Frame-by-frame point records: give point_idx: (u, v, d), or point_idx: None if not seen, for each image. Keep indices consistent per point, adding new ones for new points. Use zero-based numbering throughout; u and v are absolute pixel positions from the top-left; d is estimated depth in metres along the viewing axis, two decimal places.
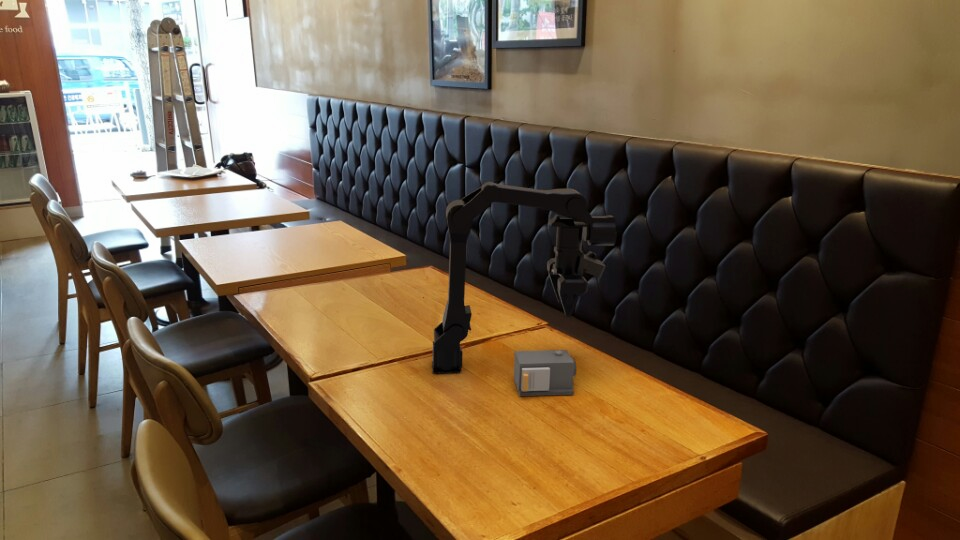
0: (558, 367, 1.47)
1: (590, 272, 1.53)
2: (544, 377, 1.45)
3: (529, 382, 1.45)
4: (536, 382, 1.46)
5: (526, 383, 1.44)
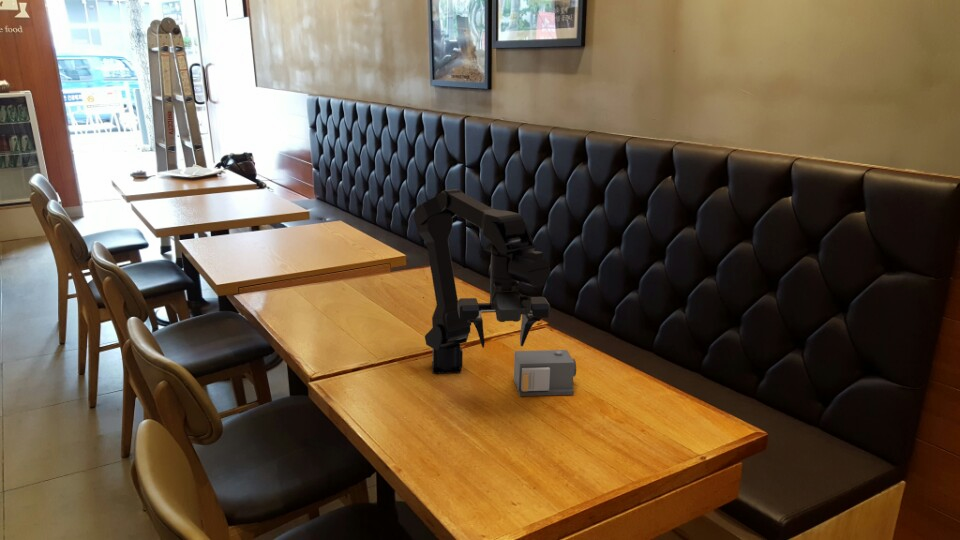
0: (558, 367, 1.47)
1: (495, 310, 1.34)
2: (544, 377, 1.45)
3: (529, 382, 1.45)
4: (536, 382, 1.46)
5: (526, 383, 1.44)
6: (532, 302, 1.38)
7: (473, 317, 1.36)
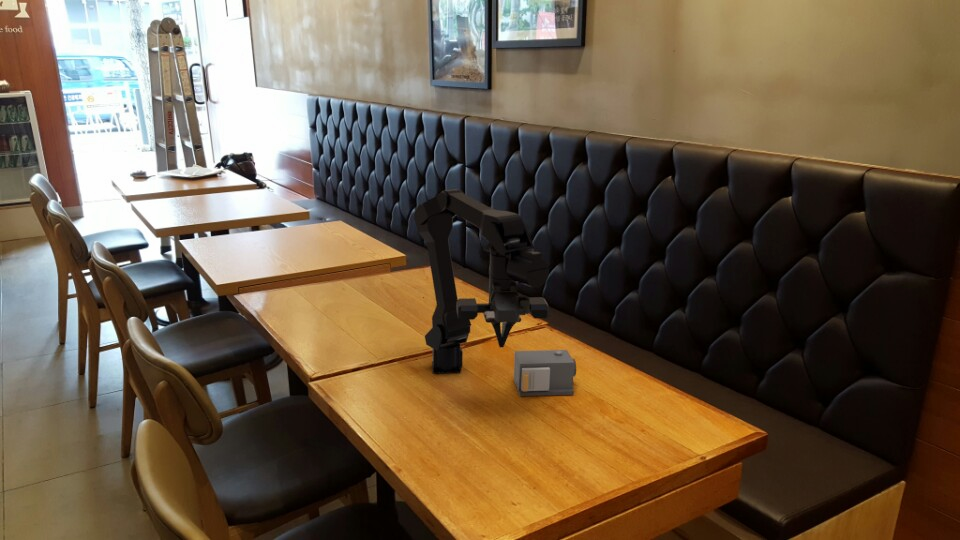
0: (558, 367, 1.47)
1: (494, 310, 1.34)
2: (544, 377, 1.45)
3: (529, 382, 1.45)
4: (536, 382, 1.46)
5: (526, 383, 1.44)
6: (531, 303, 1.38)
7: (472, 317, 1.36)
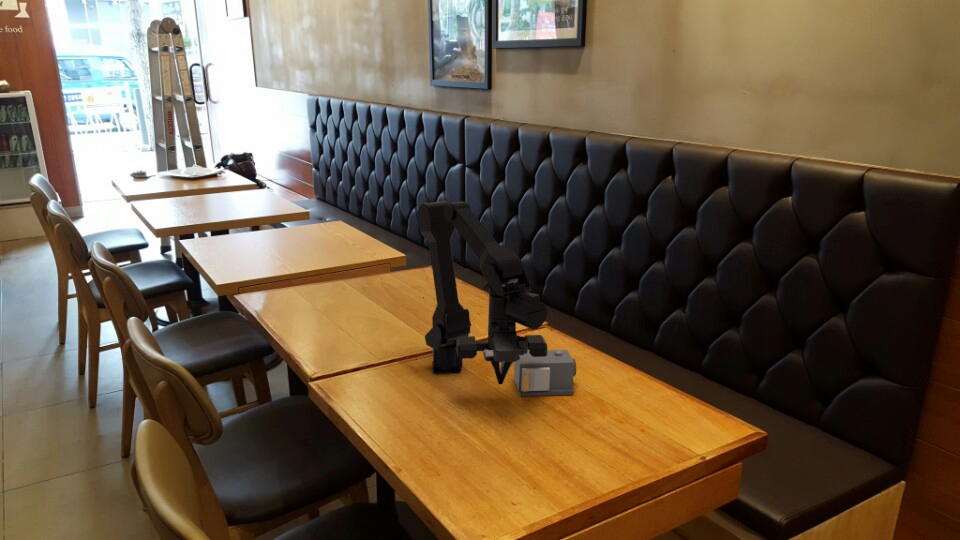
0: (558, 367, 1.47)
1: (492, 350, 1.36)
2: (544, 377, 1.45)
3: (529, 382, 1.45)
4: (536, 382, 1.46)
5: (526, 383, 1.44)
6: (529, 341, 1.40)
7: (471, 356, 1.38)
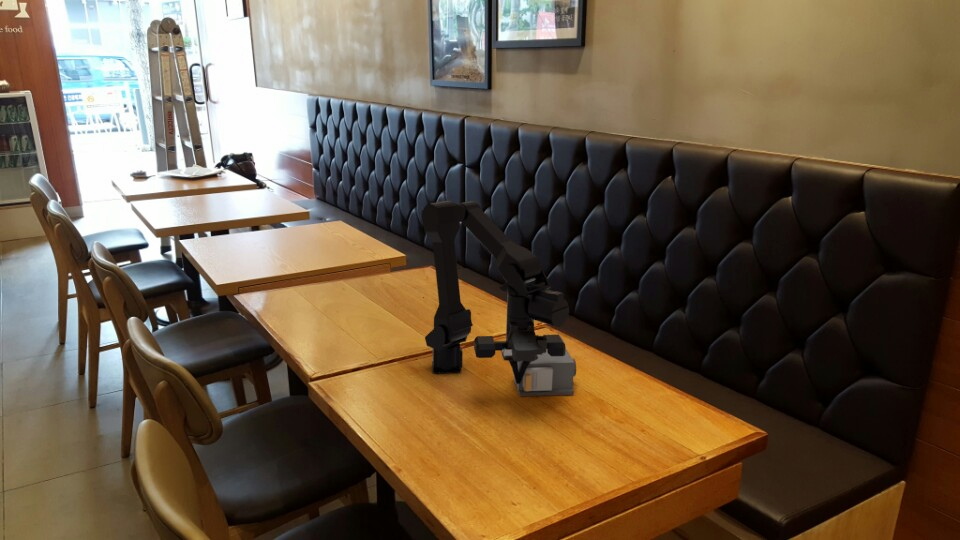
0: (558, 367, 1.47)
1: (511, 349, 1.36)
2: (547, 377, 1.46)
3: (532, 382, 1.45)
4: (539, 382, 1.46)
5: (529, 383, 1.44)
6: (547, 341, 1.41)
7: (489, 356, 1.38)
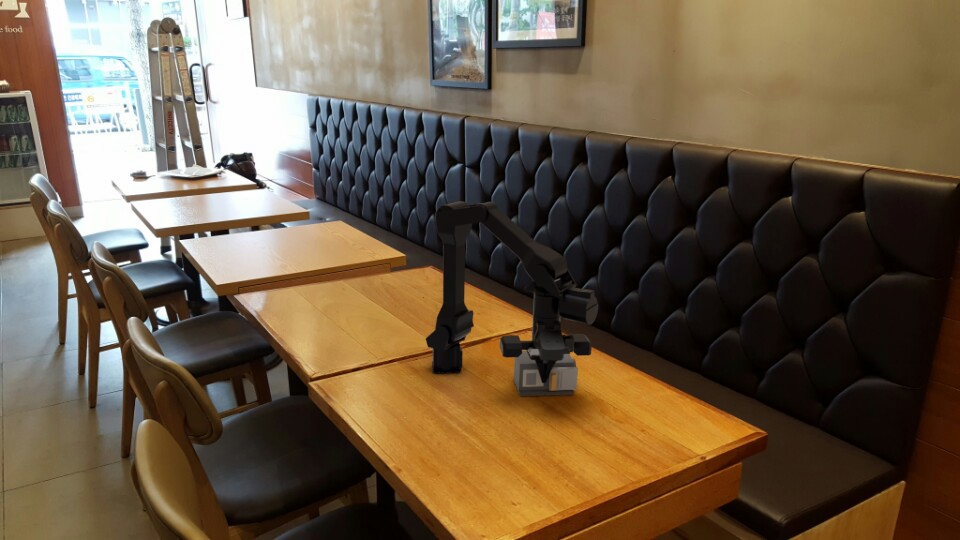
0: None
1: (538, 349, 1.37)
2: (572, 376, 1.46)
3: (557, 381, 1.46)
4: (564, 381, 1.46)
5: (554, 382, 1.45)
6: (573, 340, 1.41)
7: (516, 355, 1.39)
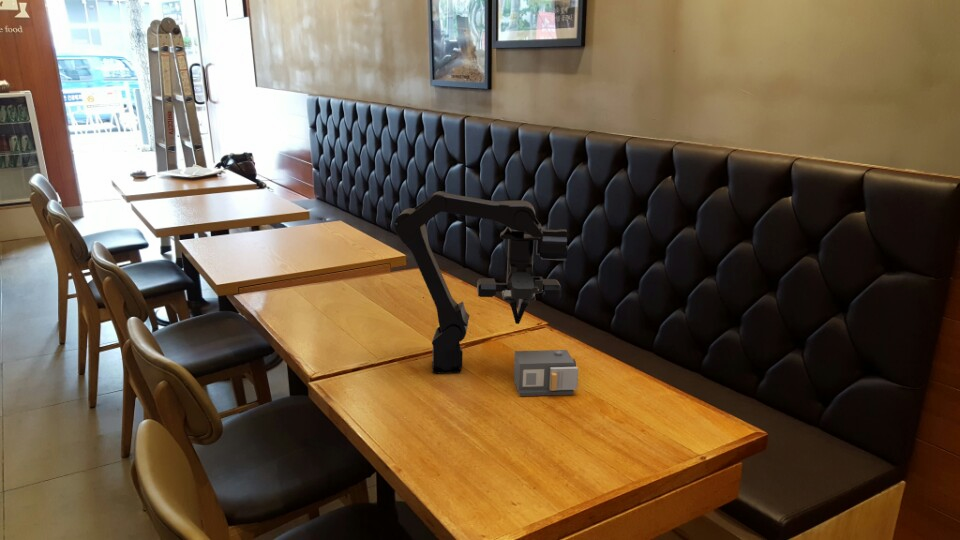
0: None
1: (510, 289, 1.48)
2: (572, 376, 1.46)
3: (557, 381, 1.46)
4: (564, 381, 1.46)
5: (555, 382, 1.45)
6: (545, 283, 1.52)
7: (490, 295, 1.50)
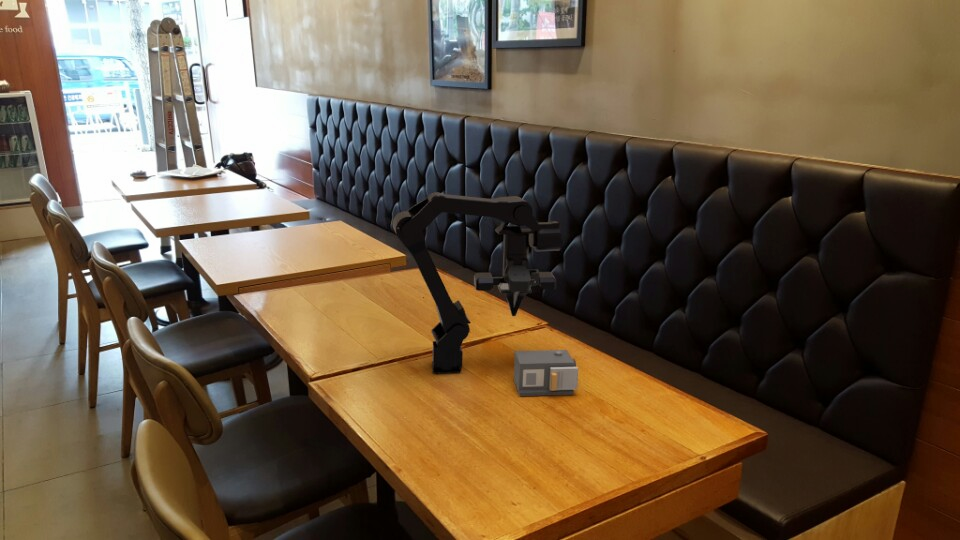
0: None
1: (507, 282, 1.52)
2: (572, 376, 1.46)
3: (557, 381, 1.46)
4: (564, 381, 1.46)
5: (555, 382, 1.45)
6: (540, 276, 1.56)
7: (488, 288, 1.54)
